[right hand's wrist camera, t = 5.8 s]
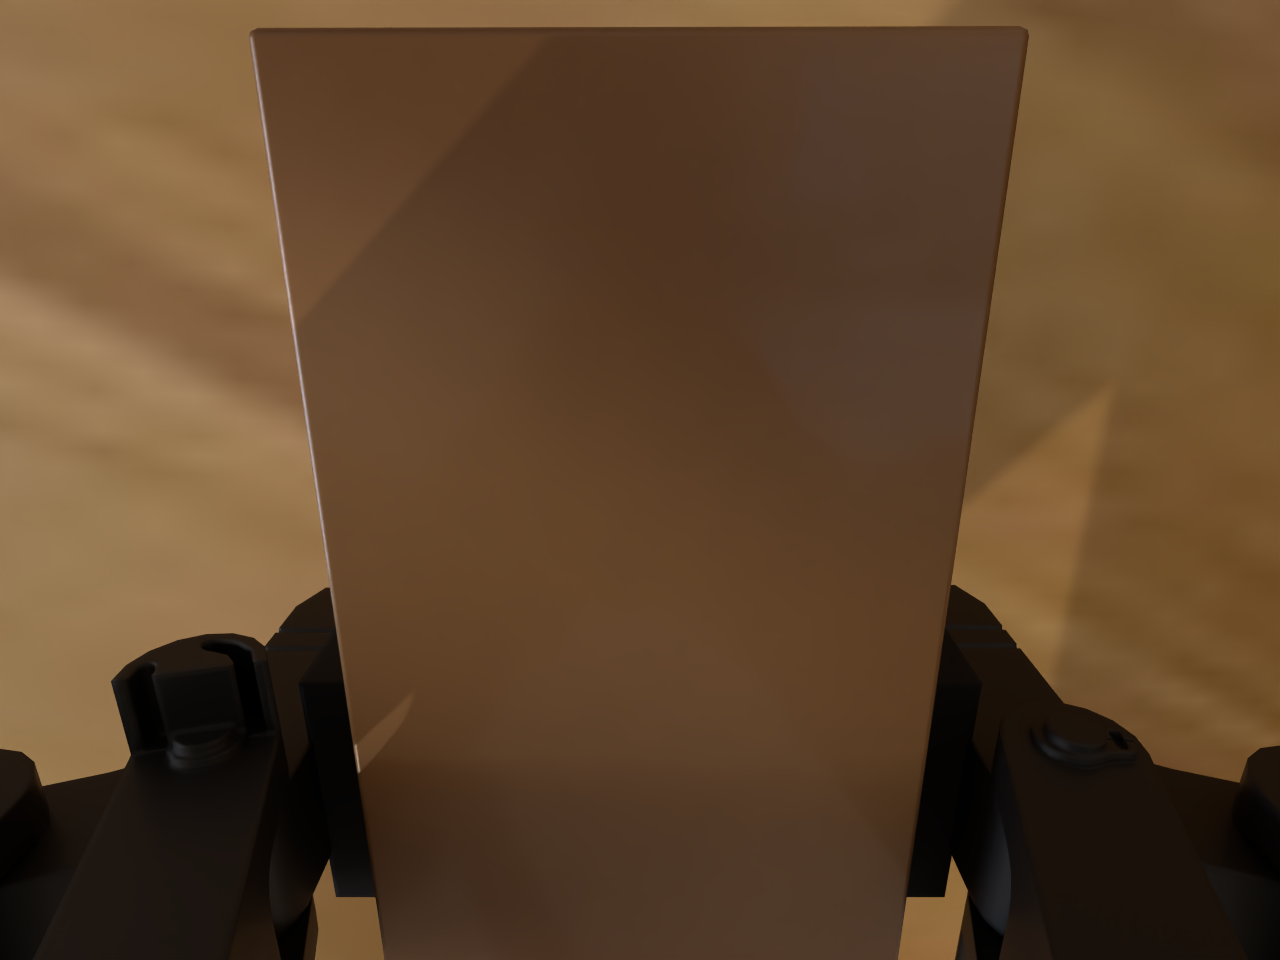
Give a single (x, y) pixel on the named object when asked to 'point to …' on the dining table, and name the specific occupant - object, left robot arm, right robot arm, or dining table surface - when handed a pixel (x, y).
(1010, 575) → the dining table surface
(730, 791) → the bar
